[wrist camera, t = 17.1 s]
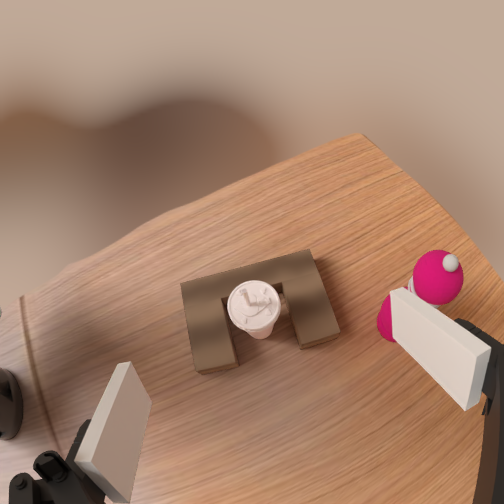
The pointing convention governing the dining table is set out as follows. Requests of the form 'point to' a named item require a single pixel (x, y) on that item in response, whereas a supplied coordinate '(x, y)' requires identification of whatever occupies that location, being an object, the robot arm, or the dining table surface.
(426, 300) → the pepper mill
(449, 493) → the dining table surface
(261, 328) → the smoothie
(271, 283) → the notched board
